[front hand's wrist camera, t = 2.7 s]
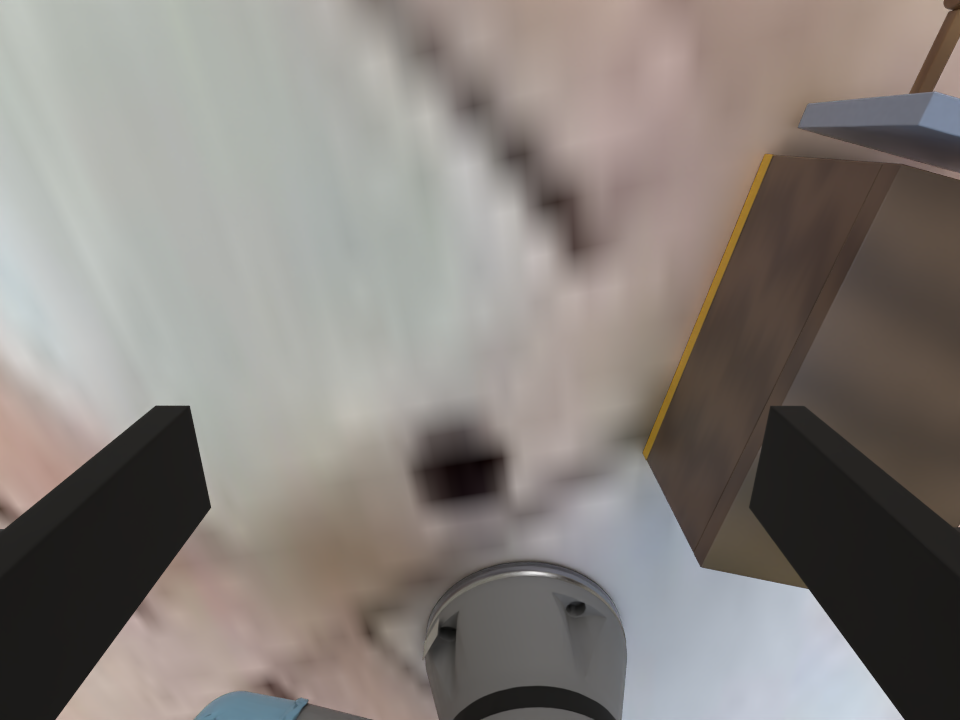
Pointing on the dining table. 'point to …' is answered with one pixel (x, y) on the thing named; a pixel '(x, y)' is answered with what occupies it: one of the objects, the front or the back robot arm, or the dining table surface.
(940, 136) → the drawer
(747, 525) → the brown-grey rectangular block
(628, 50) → the dining table surface
